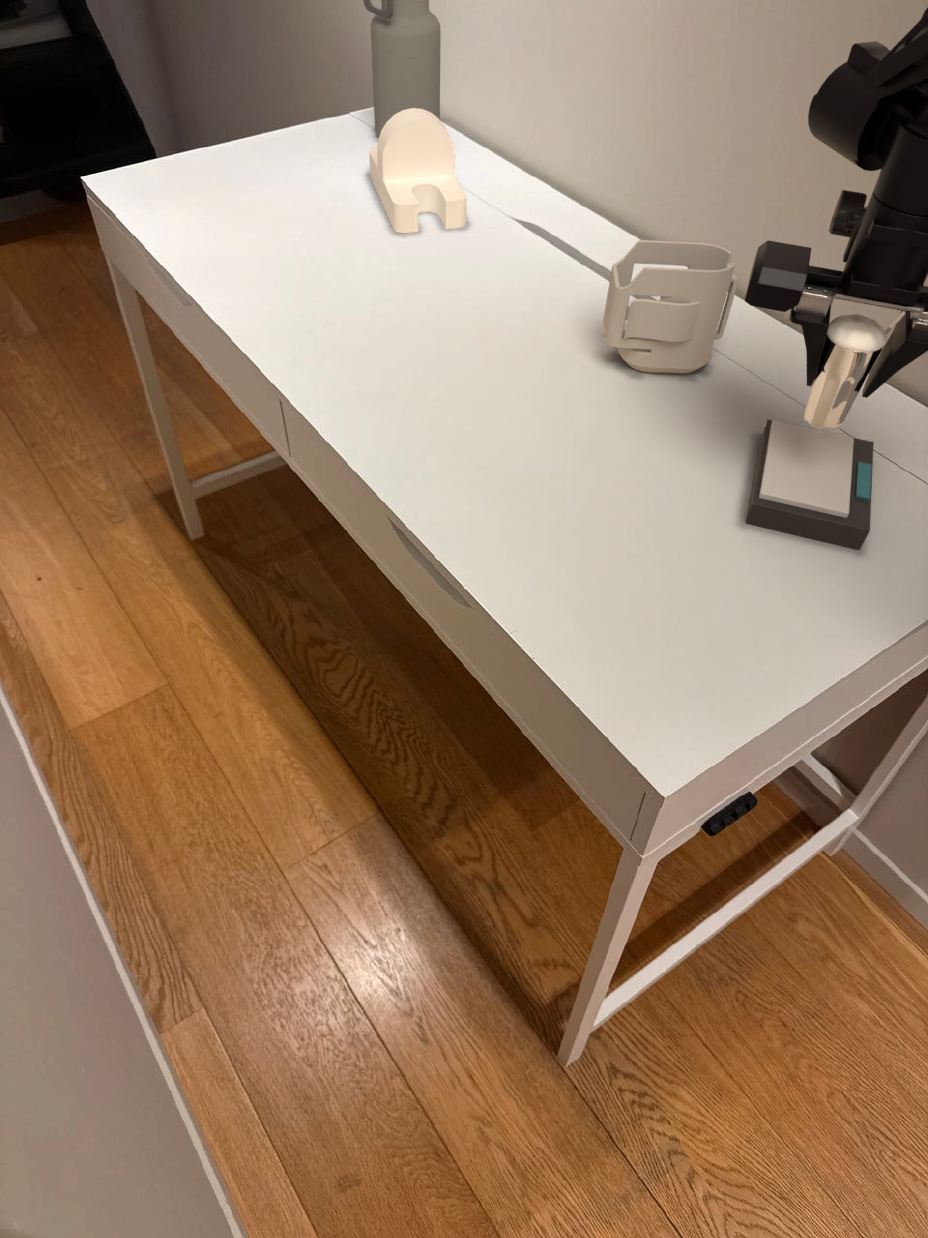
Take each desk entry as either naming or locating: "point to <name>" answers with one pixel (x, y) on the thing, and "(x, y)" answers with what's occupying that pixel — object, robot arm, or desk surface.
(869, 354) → the milkshake
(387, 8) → the water bottle
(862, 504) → the scale
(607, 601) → the desk surface
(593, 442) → the desk surface
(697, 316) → the cable organizer
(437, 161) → the white slotted holder
